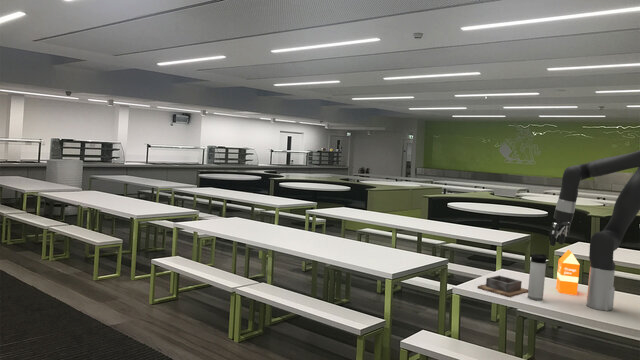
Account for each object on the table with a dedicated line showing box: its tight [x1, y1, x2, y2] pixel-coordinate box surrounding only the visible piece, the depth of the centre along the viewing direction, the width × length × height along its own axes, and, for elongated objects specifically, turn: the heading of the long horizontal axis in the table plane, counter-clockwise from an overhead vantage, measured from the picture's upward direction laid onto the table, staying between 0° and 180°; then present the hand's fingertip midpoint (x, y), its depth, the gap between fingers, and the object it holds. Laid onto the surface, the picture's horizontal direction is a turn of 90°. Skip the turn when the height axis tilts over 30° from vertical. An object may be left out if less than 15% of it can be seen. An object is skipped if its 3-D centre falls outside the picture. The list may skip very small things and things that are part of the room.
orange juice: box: [555, 249, 581, 296], centre depth 226 cm, size 8×9×20 cm
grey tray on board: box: [477, 275, 528, 298], centre depth 221 cm, size 16×18×5 cm
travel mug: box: [527, 253, 547, 302], centre depth 210 cm, size 6×7×20 cm
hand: (556, 244), depth 211 cm, fingers open, 8 cm apart
